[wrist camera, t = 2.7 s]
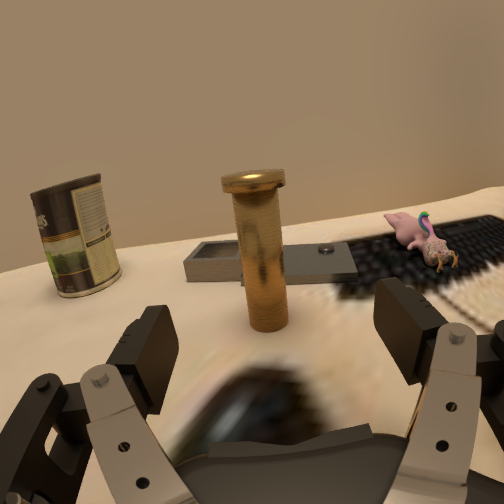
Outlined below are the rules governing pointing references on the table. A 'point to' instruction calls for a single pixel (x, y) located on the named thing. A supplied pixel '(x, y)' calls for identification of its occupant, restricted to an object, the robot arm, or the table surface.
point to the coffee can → (77, 236)
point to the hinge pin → (260, 244)
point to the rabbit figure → (420, 237)
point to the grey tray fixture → (295, 261)
